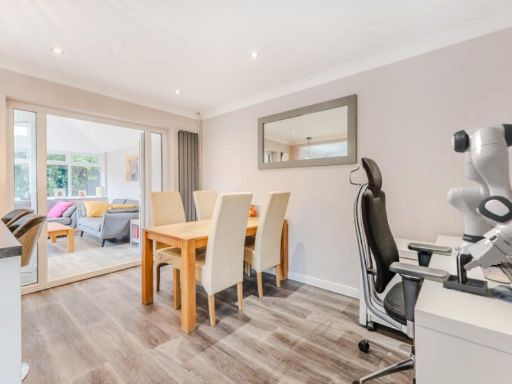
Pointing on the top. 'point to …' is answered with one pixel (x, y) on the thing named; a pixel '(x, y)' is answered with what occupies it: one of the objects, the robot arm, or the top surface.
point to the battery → (461, 271)
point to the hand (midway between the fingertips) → (463, 265)
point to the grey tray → (475, 288)
